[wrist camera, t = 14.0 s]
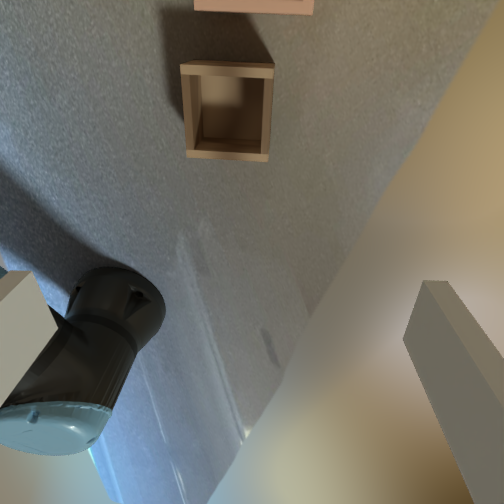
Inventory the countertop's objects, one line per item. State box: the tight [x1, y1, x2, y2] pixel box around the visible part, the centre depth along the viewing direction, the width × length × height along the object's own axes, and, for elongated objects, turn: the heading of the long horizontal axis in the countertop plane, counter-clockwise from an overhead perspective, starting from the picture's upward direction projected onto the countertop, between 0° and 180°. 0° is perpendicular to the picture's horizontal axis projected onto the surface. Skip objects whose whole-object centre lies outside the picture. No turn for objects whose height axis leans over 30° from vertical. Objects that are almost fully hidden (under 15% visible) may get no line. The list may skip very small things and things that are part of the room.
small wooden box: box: [180, 60, 275, 162], centre depth 35 cm, size 9×9×6 cm
